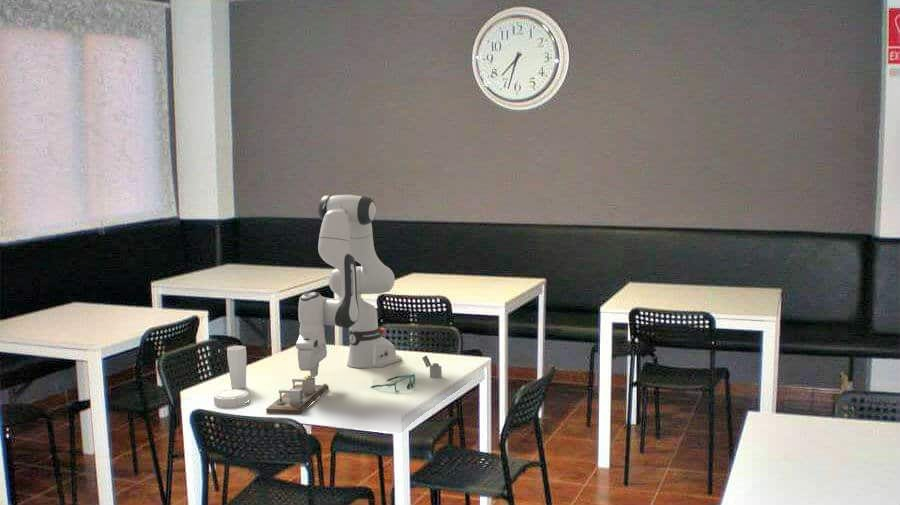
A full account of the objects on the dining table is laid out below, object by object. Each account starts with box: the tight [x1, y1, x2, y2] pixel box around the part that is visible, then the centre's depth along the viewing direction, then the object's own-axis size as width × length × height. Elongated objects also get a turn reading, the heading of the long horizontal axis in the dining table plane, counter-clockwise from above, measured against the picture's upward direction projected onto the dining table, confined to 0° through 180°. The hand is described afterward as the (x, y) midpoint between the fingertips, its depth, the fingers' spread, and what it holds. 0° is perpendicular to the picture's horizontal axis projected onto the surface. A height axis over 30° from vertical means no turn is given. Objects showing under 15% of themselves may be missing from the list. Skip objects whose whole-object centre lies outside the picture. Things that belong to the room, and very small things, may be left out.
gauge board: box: [265, 383, 329, 415], centre depth 344 cm, size 30×12×2 cm, turn 169°
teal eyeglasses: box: [370, 373, 416, 393], centre depth 359 cm, size 14×15×5 cm
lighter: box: [421, 355, 443, 379], centre depth 369 cm, size 7×2×8 cm, turn 69°
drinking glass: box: [226, 345, 248, 389], centre depth 362 cm, size 7×7×15 cm
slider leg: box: [291, 375, 316, 394], centre depth 347 cm, size 3×8×6 cm, turn 79°
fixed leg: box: [278, 383, 328, 409], centre depth 343 cm, size 28×9×5 cm, turn 169°
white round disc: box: [213, 388, 250, 408], centre depth 345 cm, size 12×12×4 cm
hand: (314, 376), depth 354 cm, fingers closed
